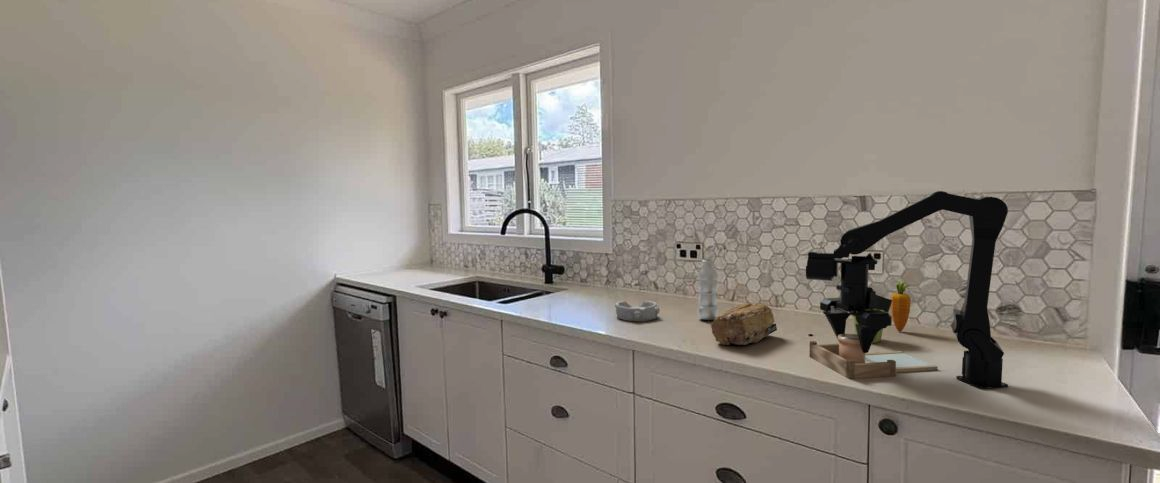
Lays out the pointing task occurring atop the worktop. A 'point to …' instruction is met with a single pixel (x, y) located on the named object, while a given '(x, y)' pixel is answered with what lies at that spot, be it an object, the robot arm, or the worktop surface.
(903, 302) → the carrot
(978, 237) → the robot arm
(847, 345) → the terracotta pot
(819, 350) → the frame
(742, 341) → the petrified wood
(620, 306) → the dish
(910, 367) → the lid pane
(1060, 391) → the worktop surface
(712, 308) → the plastic bottle
